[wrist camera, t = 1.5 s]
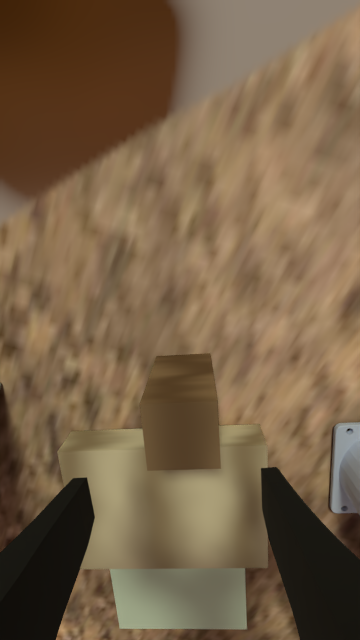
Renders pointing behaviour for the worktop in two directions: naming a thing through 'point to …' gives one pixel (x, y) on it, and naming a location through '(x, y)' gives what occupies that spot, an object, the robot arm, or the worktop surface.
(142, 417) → the walnut block
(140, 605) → the green mat
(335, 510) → the robot arm
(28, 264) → the worktop surface
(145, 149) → the worktop surface
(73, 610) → the worktop surface
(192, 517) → the maple board
